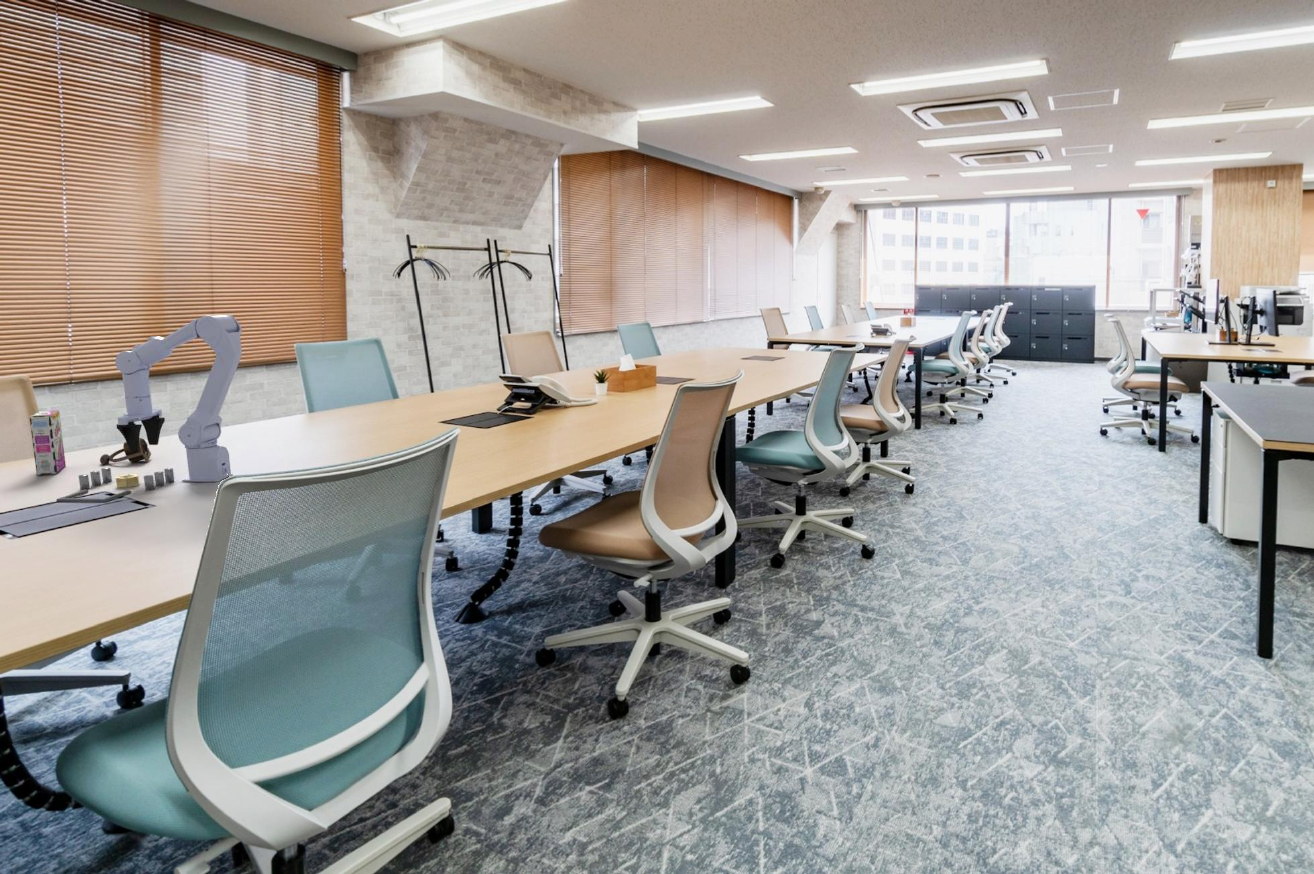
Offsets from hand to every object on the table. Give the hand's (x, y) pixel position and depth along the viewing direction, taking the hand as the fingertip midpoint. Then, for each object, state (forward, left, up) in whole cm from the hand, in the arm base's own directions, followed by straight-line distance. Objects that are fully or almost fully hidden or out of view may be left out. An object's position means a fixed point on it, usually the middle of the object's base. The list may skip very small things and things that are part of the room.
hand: (144, 447), depth 219 cm
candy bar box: (+33, -7, -9) cm, 34 cm away
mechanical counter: (+20, -20, -9) cm, 29 cm away
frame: (0, +20, -8) cm, 21 cm away
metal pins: (0, +8, -8) cm, 12 cm away
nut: (0, +8, -8) cm, 12 cm away
